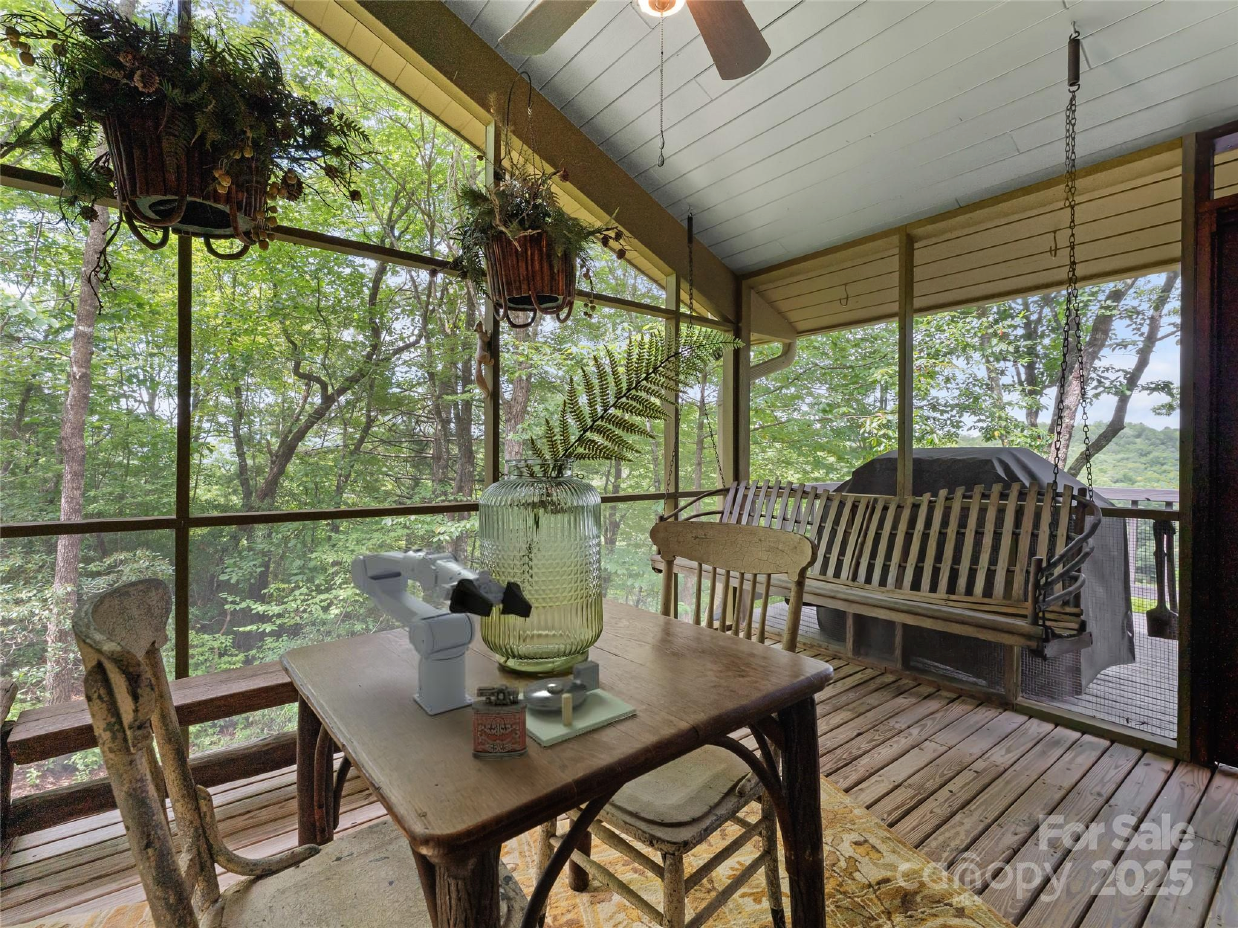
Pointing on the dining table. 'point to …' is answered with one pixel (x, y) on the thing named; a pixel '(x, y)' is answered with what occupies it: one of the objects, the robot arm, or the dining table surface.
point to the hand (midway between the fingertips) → (510, 611)
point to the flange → (563, 689)
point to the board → (575, 717)
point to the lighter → (499, 724)
